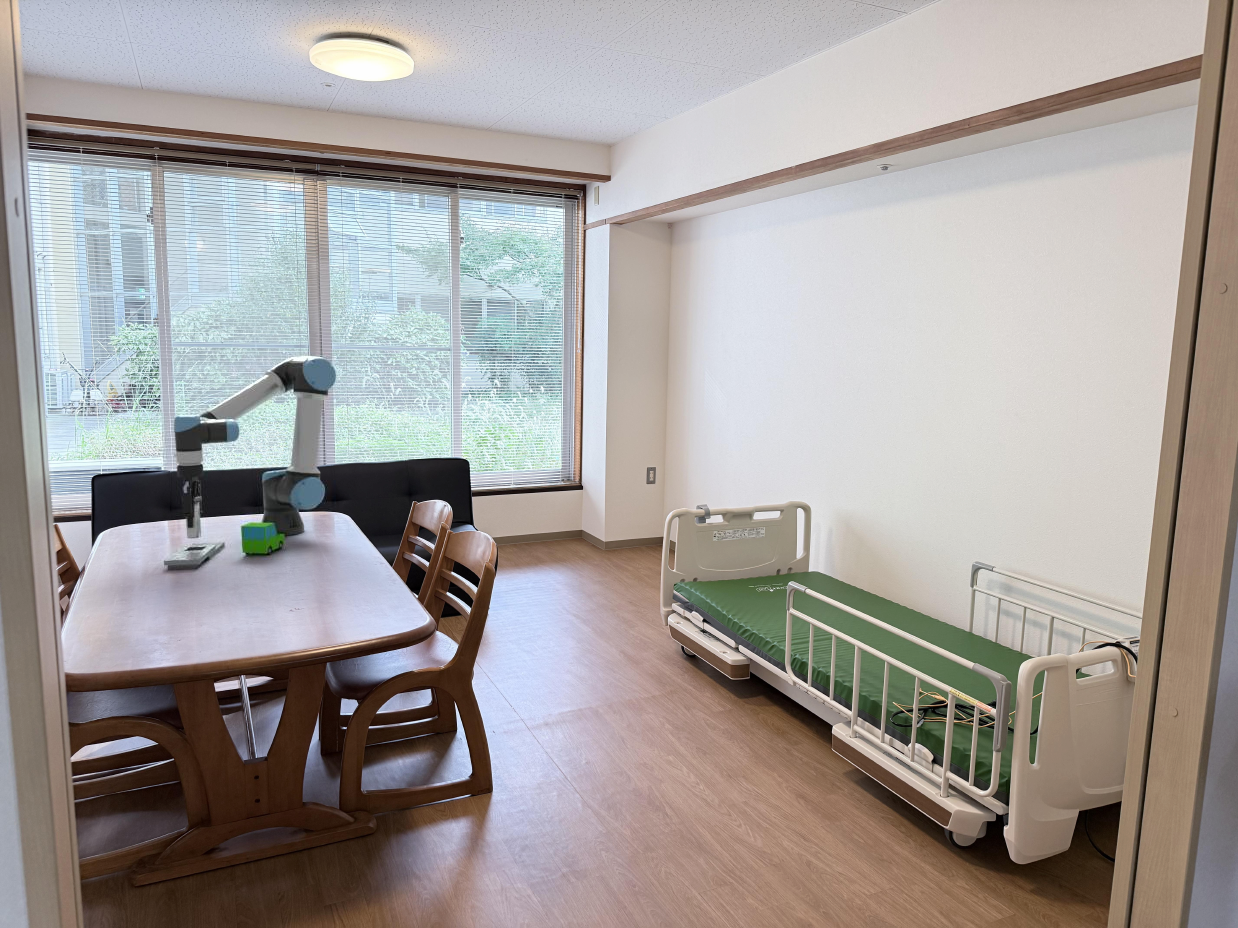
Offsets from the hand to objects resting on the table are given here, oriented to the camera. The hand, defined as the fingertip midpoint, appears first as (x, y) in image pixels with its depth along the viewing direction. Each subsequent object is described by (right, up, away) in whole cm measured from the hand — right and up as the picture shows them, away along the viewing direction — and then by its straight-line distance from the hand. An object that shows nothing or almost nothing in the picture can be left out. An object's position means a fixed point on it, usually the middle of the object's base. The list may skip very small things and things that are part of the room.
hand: (194, 535), depth 276 cm
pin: (0, 0, 0) cm, 0 cm away
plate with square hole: (0, -7, +1) cm, 7 cm away
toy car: (+19, -6, +10) cm, 22 cm away
